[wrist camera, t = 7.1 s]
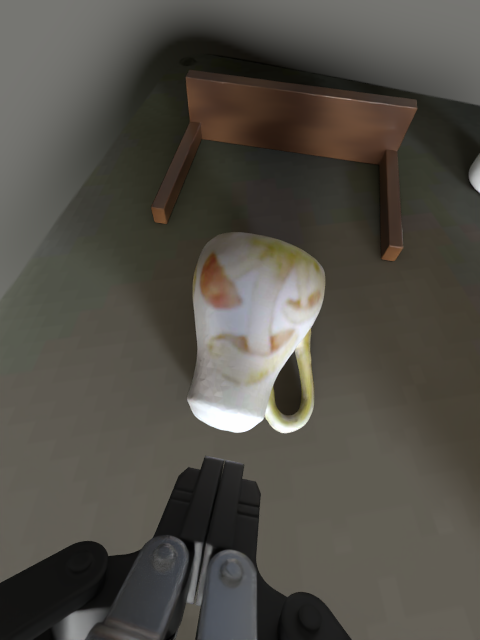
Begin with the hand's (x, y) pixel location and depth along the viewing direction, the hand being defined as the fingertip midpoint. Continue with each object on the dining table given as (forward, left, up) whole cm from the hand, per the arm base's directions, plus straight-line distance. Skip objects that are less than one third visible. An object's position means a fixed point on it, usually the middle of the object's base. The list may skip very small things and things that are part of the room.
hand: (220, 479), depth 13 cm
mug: (0, +7, -5) cm, 9 cm away
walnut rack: (0, +22, -5) cm, 23 cm away
